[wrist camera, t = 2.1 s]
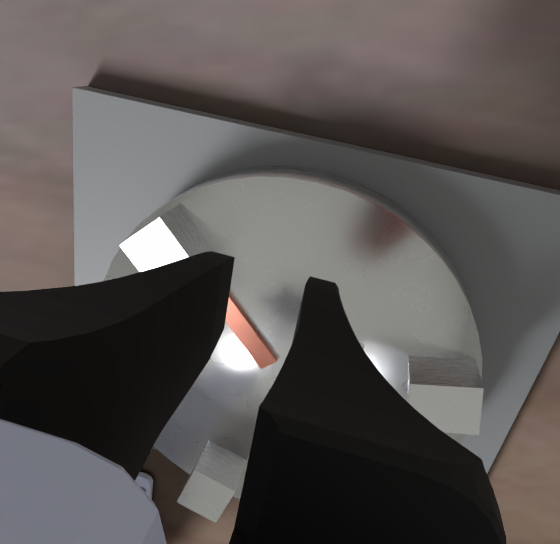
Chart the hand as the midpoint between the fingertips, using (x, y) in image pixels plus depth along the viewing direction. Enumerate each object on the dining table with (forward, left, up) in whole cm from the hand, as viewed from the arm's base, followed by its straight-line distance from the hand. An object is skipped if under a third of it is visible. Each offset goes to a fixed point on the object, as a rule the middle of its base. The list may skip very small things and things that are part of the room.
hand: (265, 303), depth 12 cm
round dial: (-6, 0, -8) cm, 10 cm away
